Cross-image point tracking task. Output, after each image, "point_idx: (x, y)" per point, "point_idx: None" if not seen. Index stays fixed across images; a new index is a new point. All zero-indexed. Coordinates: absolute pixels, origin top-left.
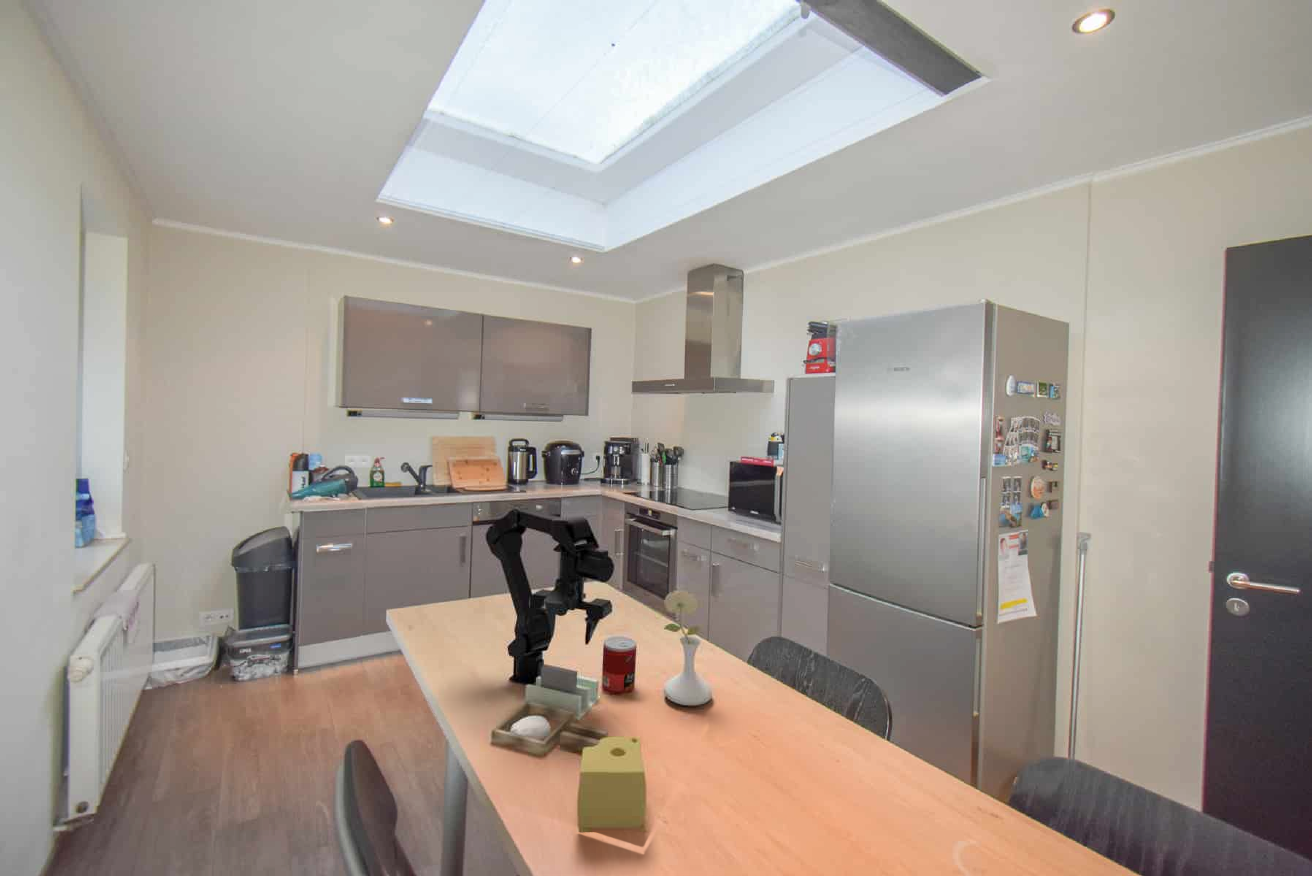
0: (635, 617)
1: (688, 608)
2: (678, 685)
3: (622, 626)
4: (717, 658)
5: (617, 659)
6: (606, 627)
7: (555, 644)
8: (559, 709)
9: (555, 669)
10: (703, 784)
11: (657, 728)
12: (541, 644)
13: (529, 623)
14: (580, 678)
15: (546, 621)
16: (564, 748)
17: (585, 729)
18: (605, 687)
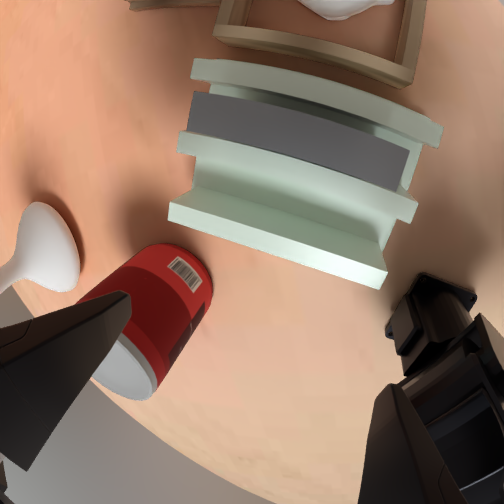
0: (233, 474)
1: None
2: (34, 235)
3: (245, 464)
4: None
5: (104, 293)
6: (271, 466)
7: (361, 436)
8: (272, 37)
9: (316, 124)
10: (27, 15)
11: (66, 115)
12: (421, 380)
13: (500, 448)
14: (233, 222)
15: (439, 483)
16: None
17: None
18: (191, 259)
